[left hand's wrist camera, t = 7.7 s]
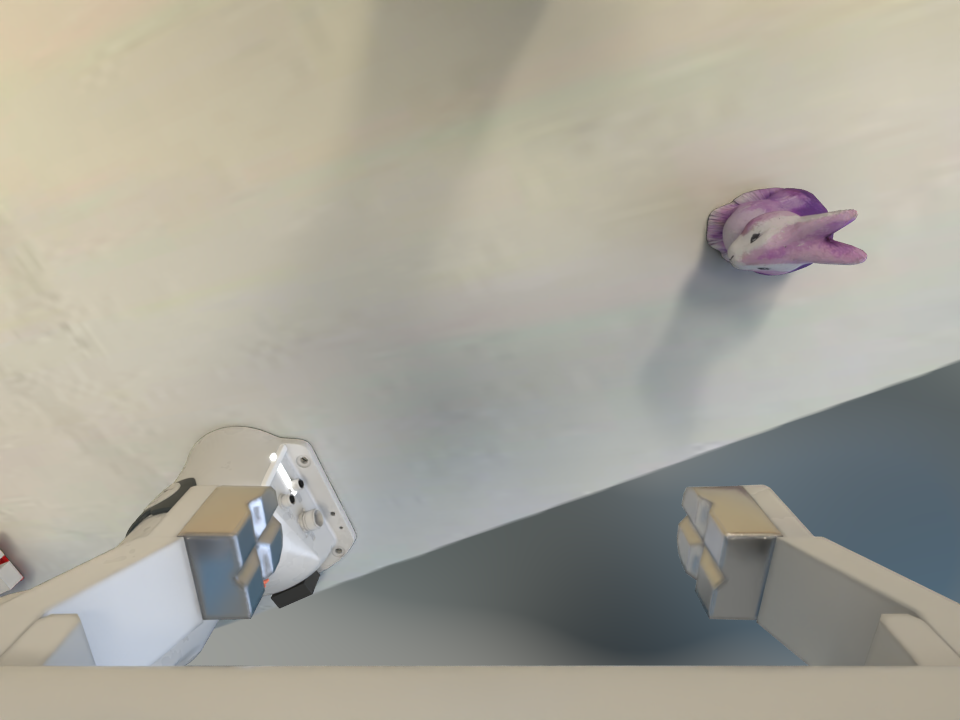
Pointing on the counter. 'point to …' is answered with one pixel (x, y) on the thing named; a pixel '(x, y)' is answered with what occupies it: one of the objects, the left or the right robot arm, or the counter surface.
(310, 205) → the counter surface
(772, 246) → the figurine
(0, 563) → the toy
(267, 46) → the counter surface
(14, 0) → the counter surface
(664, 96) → the counter surface
